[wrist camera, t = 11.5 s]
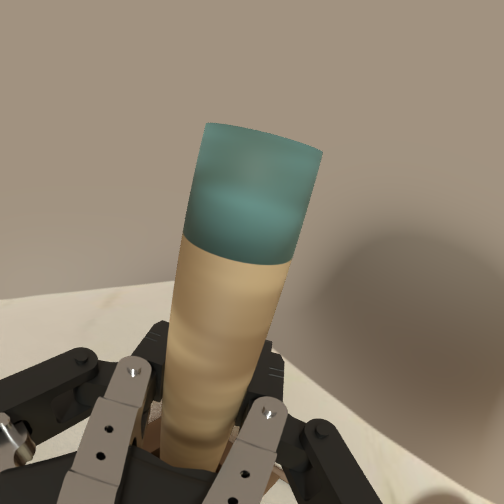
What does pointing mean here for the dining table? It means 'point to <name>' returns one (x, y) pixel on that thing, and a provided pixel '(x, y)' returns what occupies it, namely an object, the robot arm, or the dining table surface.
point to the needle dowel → (229, 282)
